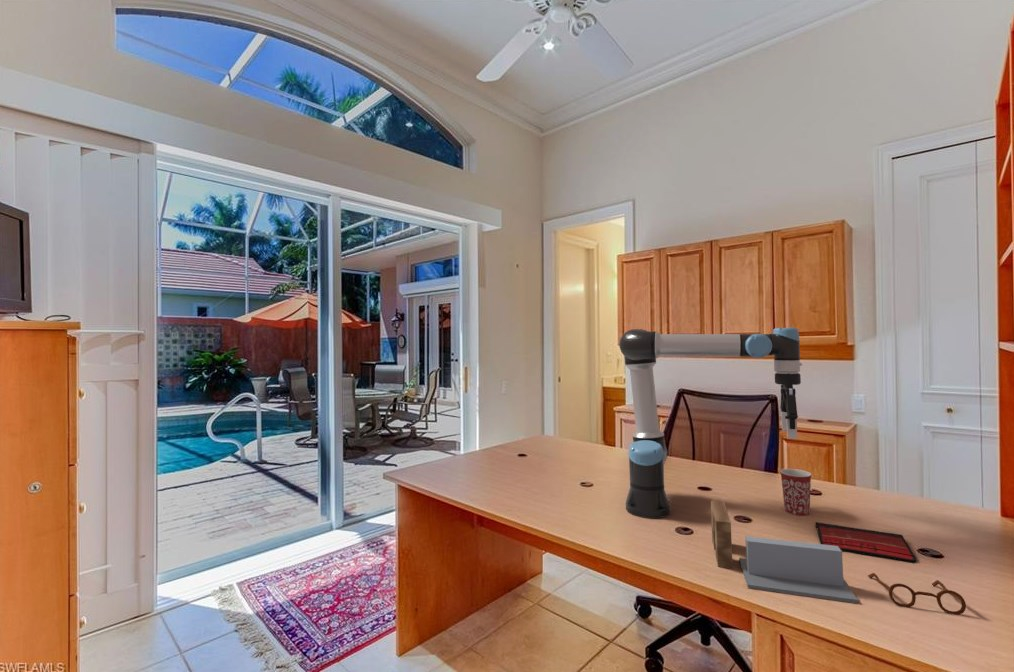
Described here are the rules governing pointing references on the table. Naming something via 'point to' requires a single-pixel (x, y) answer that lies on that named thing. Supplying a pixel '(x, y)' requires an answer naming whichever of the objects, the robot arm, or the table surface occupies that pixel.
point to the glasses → (924, 594)
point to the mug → (796, 491)
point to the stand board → (795, 569)
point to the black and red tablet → (866, 542)
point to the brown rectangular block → (721, 534)
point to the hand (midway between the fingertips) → (789, 434)
